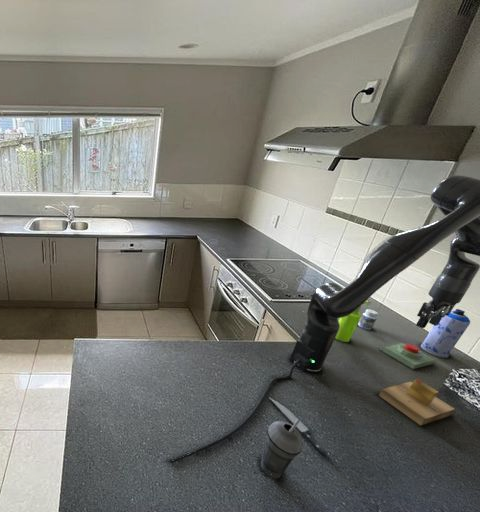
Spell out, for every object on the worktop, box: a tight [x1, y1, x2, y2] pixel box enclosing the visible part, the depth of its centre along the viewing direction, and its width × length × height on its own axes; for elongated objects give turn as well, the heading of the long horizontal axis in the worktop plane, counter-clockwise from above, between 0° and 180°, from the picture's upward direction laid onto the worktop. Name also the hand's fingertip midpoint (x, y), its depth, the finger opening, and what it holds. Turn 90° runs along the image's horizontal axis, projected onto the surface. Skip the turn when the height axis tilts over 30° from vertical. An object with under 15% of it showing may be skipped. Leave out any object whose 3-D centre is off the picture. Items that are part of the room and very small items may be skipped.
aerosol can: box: [420, 308, 471, 358], centre depth 112 cm, size 8×8×20 cm
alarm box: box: [382, 342, 435, 370], centre depth 111 cm, size 11×10×4 cm
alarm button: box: [405, 343, 420, 353], centre depth 110 cm, size 4×4×2 cm
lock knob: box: [407, 379, 439, 406], centre depth 89 cm, size 5×2×6 cm, turn 17°
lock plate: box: [378, 381, 456, 426], centre depth 90 cm, size 14×11×3 cm
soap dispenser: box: [335, 300, 372, 343], centre depth 118 cm, size 6×7×20 cm
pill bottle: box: [357, 308, 379, 330], centre depth 128 cm, size 5×5×8 cm
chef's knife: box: [269, 397, 327, 457], centre depth 83 cm, size 19×1×3 cm
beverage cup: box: [260, 418, 304, 479], centre depth 68 cm, size 7×7×20 cm
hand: (426, 325), depth 105 cm, fingers open, 6 cm apart
